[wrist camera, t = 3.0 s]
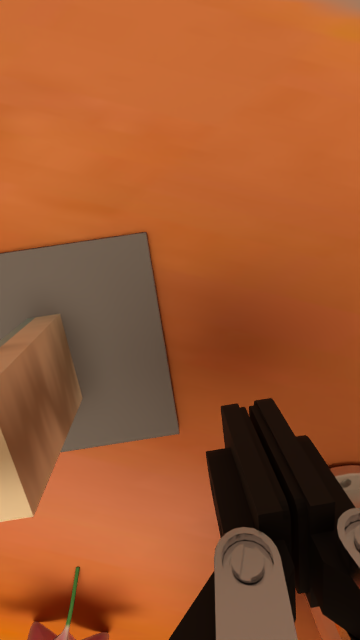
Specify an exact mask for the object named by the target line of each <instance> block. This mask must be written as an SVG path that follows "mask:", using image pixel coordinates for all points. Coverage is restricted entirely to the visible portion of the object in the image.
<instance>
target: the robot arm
mask: <svg viewBox="0 0 360 640" xmlns="http://www.w3.org/2000/svg"><path fill="white" fill-rule="evenodd" d="M221 415H222V424H223V433H224V442H225V449H219V450H213V451H206V458H207V465H208V472H209V479H210V485H211V490H212V496H213V501H214V506H215V511H216V516H217V521H218V526H219V531H220V536H221V539H220V540H219V542H218V544H217V546H216V549H215V556H214V570H215V571H214V572H213V574H212V575H211V577H210V578H209V580H208V581H207V583H206V584H205V586H204V587H203V589H202V590H201V592H200V593H199V595H198V596H197V598H196V599H195V601H194V602H193V604H192V605H191V607H190V608H189V610H188V611H187V613H186V614H185V616H184V617H183V619H182V620H181V622H180V623H179V625H178V626H177V628H176V629H175V631H174V632H173V634H172V635H171V637H170V638H169V640H298V639H297V634H296V629H295V624H294V622H295V620H296V603H295V588H296V590H297V592H298V593H299V594H300V593H304V594H305V597H306V600H307V602H308V605H309V608H310V610H311V613H312V615H313V618H314V621H315V623H316V626H317V629H318V631H319V634H320V636H321V639H322V640H360V466H358V465H348V466H340V467H334V468H329V467H328V465H327V464H326V462H325V461H324V459H323V458H322V456H321V455H320V453H319V452H318V450H317V449H316V447H315V446H314V444H313V443H312V441H311V440H310V439H309V437H308V436H306V435H304V436H298V437H295V435H294V433H293V432H292V430H291V429H290V427H289V425H288V424H287V422H286V420H285V419H284V417H283V415H282V414H281V412H280V410H279V409H278V407H277V405H276V404H275V402H274V401H273V399H272V398H268V399H262V400H256V401H254V406H249V415H248V413H247V410H246V408H245V407H241V408H239V405H238V404H231V405H225V406H221ZM249 416H250V417H249Z"/></svg>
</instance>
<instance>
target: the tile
mask: <svg viewBox="0 0 360 640" xmlns="http://www.w3.org/2000/svg"><path fill="white" fill-rule="evenodd" d="M82 399H83V398H82V394H81V390H80V386H79V383H78V379H77V375H76V372H75V368H74V364H73V360H72V357H71V353H70V349H69V346H68V342H67V338H66V334H65V331H64V327H63V323H62V319H61V316H60V314H55V315H48V316H41V317H35V318H28V319H26V320H25V321H24V322H23V323H21V324H20V325H19V326H18V327H16V328H15V329H14V330H13V331H11V332H10V333H9V334H8V335H6V336H5V337H4V338H3V339H1V340H0V522H3V521H9V520H15V519H22V518H28V517H34V514H35V512H36V510H37V507H38V505H39V502H40V500H41V497H42V495H43V493H44V490H45V488H46V485H47V483H48V481H49V478H50V476H51V473H52V471H53V468H54V466H55V464H56V461H57V459H58V456H59V454H60V452H61V449H62V447H63V444H64V442H65V440H66V437H67V435H68V432H69V430H70V427H71V425H72V423H73V420H74V418H75V415H76V413H77V411H78V408H79V406H80V403H81V401H82Z"/></svg>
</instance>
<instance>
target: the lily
mask: <svg viewBox="0 0 360 640" xmlns="http://www.w3.org/2000/svg"><path fill="white" fill-rule="evenodd" d="M79 569H80V567H76V572H75V578H74V584H73V590H72V597H71V602H70V608H69V613H68V618H67V622H66V626H65V628H64V630H63V632H62V633H61V634H60V635H58V636H57V635H56V634H55V633H53V632H52V631H50V630H49V629H48V628H46V627H45V626H44V625H42V624H41V623H39V622H33V623H32V626H31V628H30V631H29V635H28V639H27V640H76V639H75V638H74V637H73V636H72V635H71V634H70V633H69V627H70V622H71V617H72V612H73V606H74V601H75V595H76V588H77V582H78V575H79ZM82 640H109V634H108V632H101V633H98V634H95V635H92V636H90V637H87V638H85V639H82Z"/></svg>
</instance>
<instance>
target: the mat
mask: <svg viewBox="0 0 360 640" xmlns="http://www.w3.org/2000/svg"><path fill="white" fill-rule="evenodd" d="M55 314H60V316H61V319H62V323H63V327H64V331H65V334H66V338H67V342H68V346H69V349H70V353H71V357H72V360H73V364H74V368H75V372H76V375H77V379H78V383H79V386H80V390H81V394H82V398H83V399H82V401H81V403H80V406H79V408H78V411H77V413H76V415H75V418H74V420H73V423H72V425H71V427H70V430H69V432H68V435H67V437H66V440H65V442H64V444H63V447H62V449H61V452H65V451H72V450H78V449H85V448H91V447H98V446H104V445H110V444H117V443H123V442H130V441H136V440H143V439H149V438H156V437H162V436H168V435H175V434H179V426H178V420H177V414H176V408H175V402H174V396H173V390H172V384H171V378H170V372H169V366H168V359H167V353H166V347H165V341H164V335H163V329H162V323H161V317H160V311H159V305H158V299H157V293H156V287H155V281H154V275H153V269H152V263H151V257H150V251H149V245H148V239H147V233H146V232H142V233H135V234H129V235H122V236H115V237H108V238H101V239H94V240H88V241H81V242H74V243H67V244H60V245H54V246H47V247H40V248H33V249H26V250H19V251H13V252H6V253H0V340H1V339H3V338H4V337H5V336H6V335H8V334H9V333H10V332H11V331H13V330H14V329H15V328H16V327H18V326H19V325H20V324H21V323H23V322H24V321H25V320H26V319H28V318H35V317H41V316H48V315H55Z"/></svg>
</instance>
